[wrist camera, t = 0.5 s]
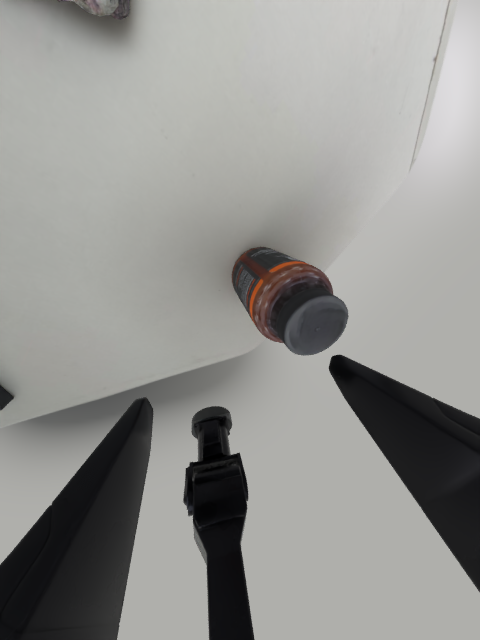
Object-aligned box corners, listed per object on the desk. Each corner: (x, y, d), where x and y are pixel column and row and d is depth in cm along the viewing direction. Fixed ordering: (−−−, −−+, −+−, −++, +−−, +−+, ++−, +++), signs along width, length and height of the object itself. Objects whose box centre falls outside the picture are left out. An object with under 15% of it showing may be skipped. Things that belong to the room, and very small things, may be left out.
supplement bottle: (239, 306, 21) (275, 381, 11) (223, 257, 18) (254, 302, 8) (286, 289, 21) (360, 349, 12) (278, 237, 18) (371, 260, 9)
